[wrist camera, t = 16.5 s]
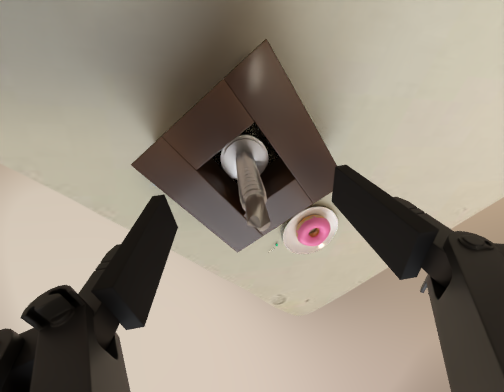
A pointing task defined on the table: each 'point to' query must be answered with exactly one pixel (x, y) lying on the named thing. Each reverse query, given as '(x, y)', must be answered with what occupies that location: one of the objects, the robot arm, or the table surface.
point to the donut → (310, 230)
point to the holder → (226, 130)
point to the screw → (248, 176)
